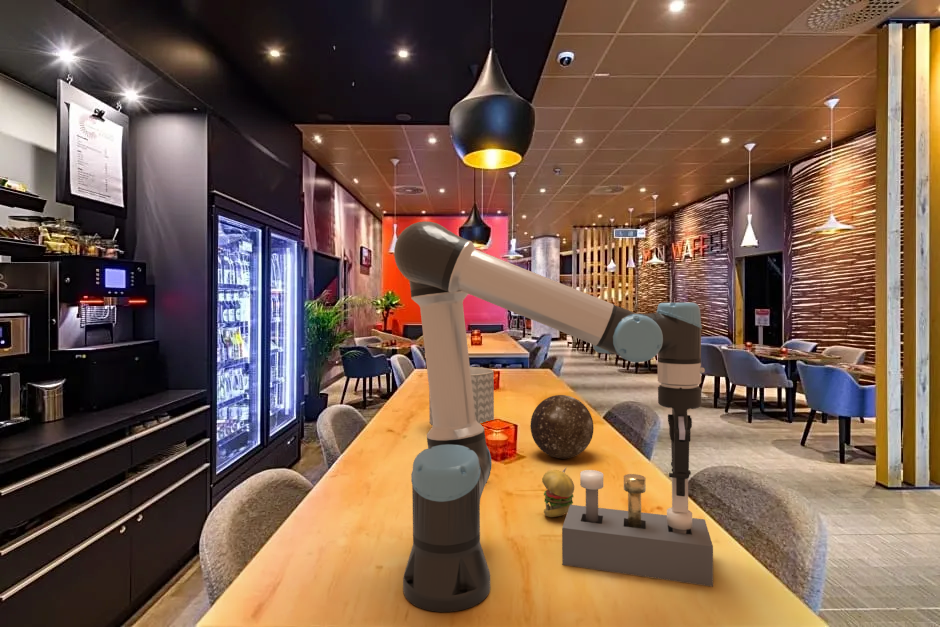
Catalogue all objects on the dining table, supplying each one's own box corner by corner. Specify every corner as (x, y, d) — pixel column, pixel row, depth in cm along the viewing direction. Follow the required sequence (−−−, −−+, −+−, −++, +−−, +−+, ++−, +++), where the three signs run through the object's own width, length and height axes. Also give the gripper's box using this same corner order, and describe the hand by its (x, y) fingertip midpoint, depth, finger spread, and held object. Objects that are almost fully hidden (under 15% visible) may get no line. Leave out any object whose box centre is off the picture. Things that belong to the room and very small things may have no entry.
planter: (419, 437, 195) (419, 373, 194) (442, 423, 219) (442, 366, 218) (484, 442, 187) (483, 375, 187) (500, 426, 211) (500, 367, 211)
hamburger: (553, 508, 126) (553, 458, 126) (580, 515, 121) (580, 464, 121) (536, 518, 120) (535, 466, 120) (564, 526, 115) (563, 472, 115)
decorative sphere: (606, 462, 162) (606, 398, 162) (550, 470, 155) (550, 403, 155) (571, 446, 181) (571, 388, 181) (519, 452, 174) (519, 392, 173)
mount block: (713, 586, 90) (712, 546, 90) (562, 564, 98) (562, 527, 98) (704, 555, 102) (704, 519, 102) (570, 537, 110) (570, 504, 110)
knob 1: (602, 528, 100) (602, 478, 100) (579, 525, 101) (579, 476, 101) (604, 519, 104) (604, 471, 104) (581, 516, 105) (581, 469, 105)
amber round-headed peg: (645, 533, 98) (645, 481, 97) (623, 530, 99) (623, 479, 99) (645, 524, 101) (645, 475, 101) (624, 522, 103) (623, 473, 102)
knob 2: (693, 570, 95) (693, 517, 95) (667, 567, 96) (667, 515, 96) (691, 559, 99) (691, 508, 99) (666, 556, 100) (666, 506, 100)
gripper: (705, 391, 90) (706, 527, 90) (697, 380, 102) (698, 500, 102) (659, 389, 92) (660, 522, 92) (656, 379, 104) (657, 496, 105)
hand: (680, 510), depth 97 cm, fingers closed
